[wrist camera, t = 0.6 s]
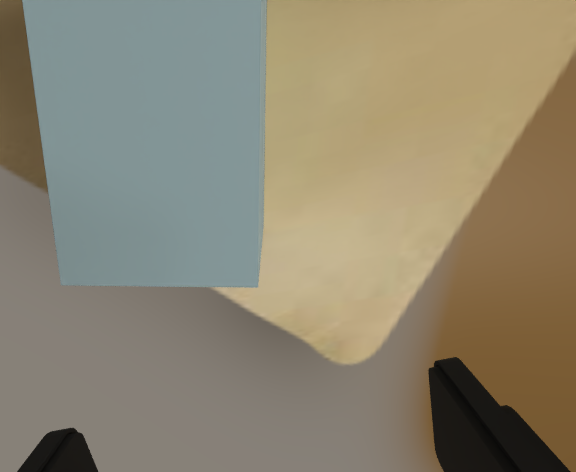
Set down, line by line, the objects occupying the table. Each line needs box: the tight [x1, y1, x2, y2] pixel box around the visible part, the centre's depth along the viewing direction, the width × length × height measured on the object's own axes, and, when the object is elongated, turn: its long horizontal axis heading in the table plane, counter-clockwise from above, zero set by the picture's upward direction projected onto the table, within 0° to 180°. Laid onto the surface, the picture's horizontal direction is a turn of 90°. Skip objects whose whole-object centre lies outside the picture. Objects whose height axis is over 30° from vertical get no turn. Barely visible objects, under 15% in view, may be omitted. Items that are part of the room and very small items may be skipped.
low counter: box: [22, 0, 267, 287], centre depth 27 cm, size 24×12×17 cm, turn 178°
